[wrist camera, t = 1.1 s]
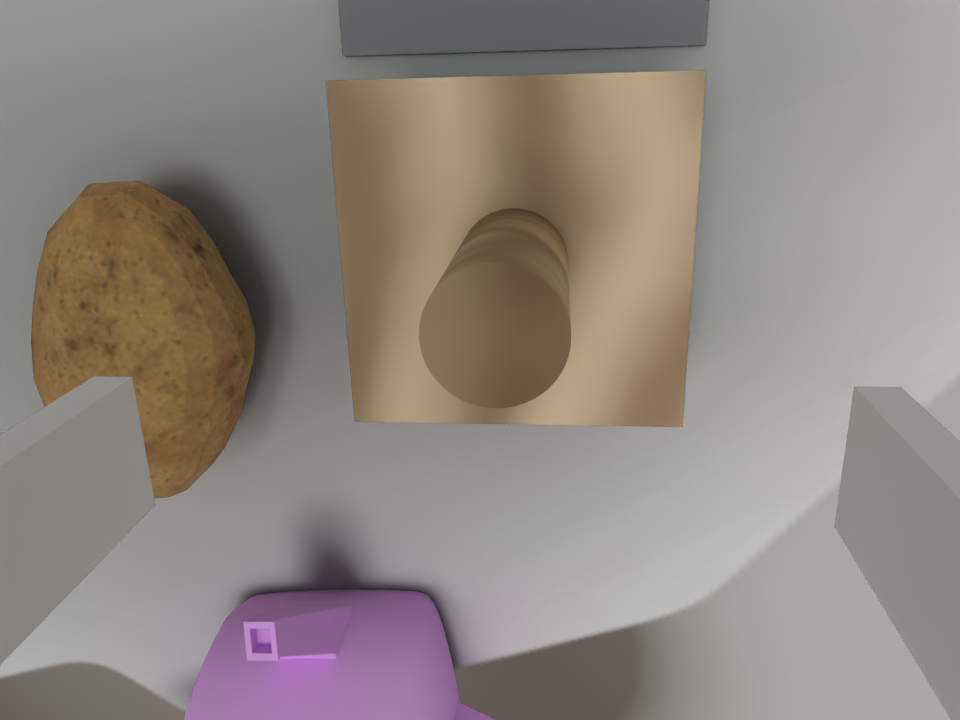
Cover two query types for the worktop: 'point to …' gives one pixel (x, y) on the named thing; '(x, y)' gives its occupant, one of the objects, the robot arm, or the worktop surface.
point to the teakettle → (330, 660)
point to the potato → (145, 323)
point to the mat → (517, 25)
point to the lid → (518, 245)
